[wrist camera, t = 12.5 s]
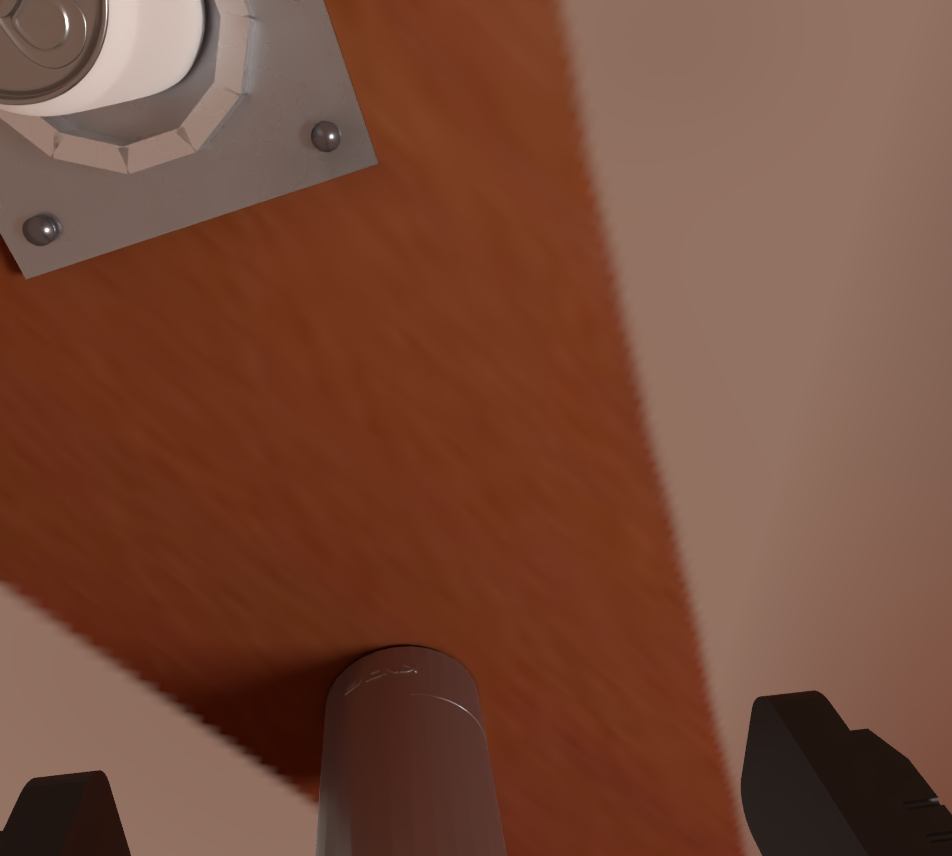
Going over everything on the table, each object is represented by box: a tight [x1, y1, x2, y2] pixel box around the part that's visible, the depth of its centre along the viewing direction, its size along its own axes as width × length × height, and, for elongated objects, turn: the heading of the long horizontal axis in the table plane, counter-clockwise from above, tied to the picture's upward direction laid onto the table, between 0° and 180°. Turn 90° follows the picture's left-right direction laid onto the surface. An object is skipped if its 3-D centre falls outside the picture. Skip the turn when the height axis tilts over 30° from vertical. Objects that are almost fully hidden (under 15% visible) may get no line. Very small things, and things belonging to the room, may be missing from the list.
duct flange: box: [0, 0, 378, 279], centre depth 31 cm, size 16×16×3 cm
